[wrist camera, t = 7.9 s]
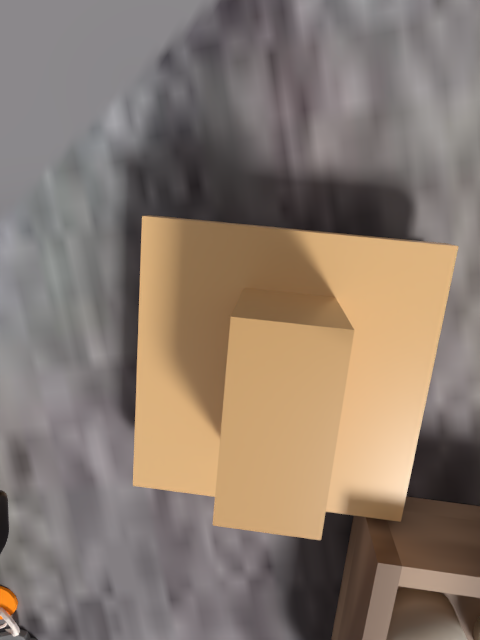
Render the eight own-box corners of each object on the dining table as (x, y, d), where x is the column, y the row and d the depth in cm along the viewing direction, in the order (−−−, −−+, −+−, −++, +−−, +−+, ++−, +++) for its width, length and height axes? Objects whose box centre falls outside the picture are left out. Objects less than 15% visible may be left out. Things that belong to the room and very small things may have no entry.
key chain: (94, 710, 24) (82, 742, 23) (32, 720, 25) (17, 751, 23) (-7, 503, 21) (-27, 525, 20) (-74, 520, 22) (-98, 542, 21)
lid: (438, 241, 16) (525, 261, 10) (389, 491, 18) (437, 617, 13) (156, 214, 16) (92, 220, 11) (146, 459, 19) (89, 566, 13)
